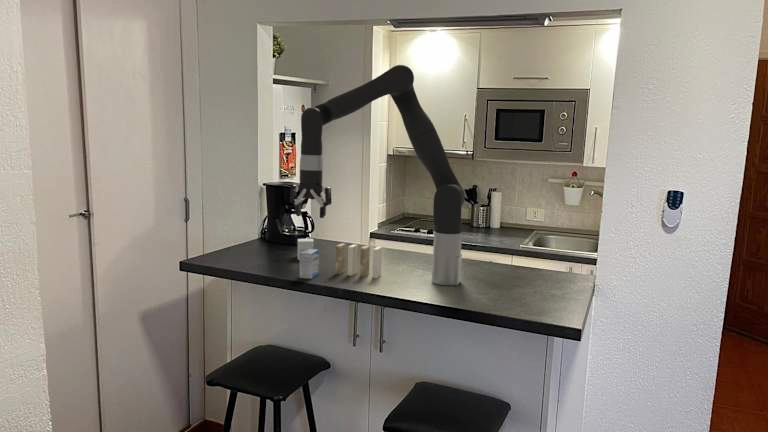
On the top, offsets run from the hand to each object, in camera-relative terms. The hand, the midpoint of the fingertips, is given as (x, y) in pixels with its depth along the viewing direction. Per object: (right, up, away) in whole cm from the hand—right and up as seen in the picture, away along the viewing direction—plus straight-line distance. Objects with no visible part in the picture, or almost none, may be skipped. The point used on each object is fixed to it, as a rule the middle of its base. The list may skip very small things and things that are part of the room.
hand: (310, 216), depth 197 cm
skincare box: (-6, -16, +30) cm, 35 cm away
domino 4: (+22, -21, +5) cm, 31 cm away
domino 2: (+14, -20, +8) cm, 25 cm away
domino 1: (+9, -20, +9) cm, 24 cm away
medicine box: (-1, -20, +3) cm, 21 cm away
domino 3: (+18, -20, +6) cm, 28 cm away
